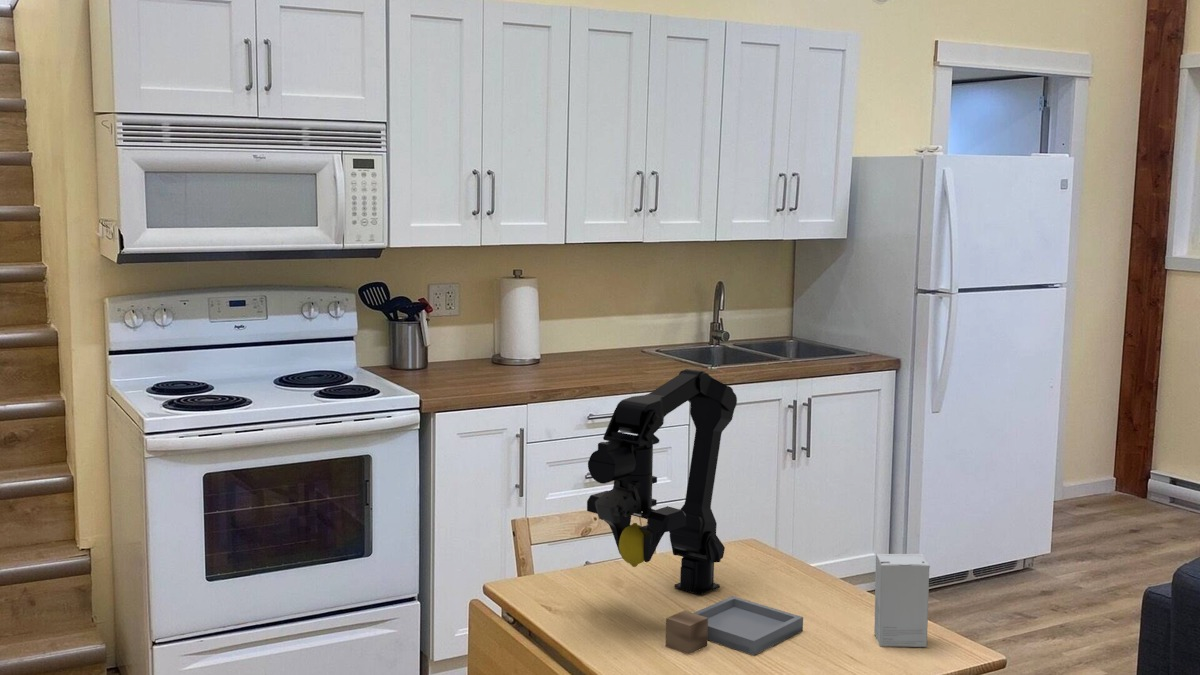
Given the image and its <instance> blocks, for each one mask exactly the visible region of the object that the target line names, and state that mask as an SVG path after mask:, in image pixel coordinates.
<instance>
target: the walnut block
mask: <svg viewBox="0 0 1200 675" xmlns="http://www.w3.org/2000/svg"><path fill="white" fill-rule="evenodd" d="M707 635H708V618H707V617H704V616H700V615H697V614H694V612H692V611H691V612H690V611H689V610H688V611H687V610H682V611H679V612H678V613H675V614H673V615H669V616H667V617H666V618H665V647H666V648H670V649H672V650H675V651H678V652H682V653H684V654H687V655H691V654H693V653H695V652H697V651H700V650H702V649H704V648H706V647H707V646H708V640H707ZM699 649H700V650H699Z"/></svg>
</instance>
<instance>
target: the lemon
mask: <svg viewBox="0 0 1200 675" xmlns="http://www.w3.org/2000/svg"><path fill="white" fill-rule="evenodd" d="M639 527H642V525H640V524H638V523H636V522H633V523H632V524H630V526H628V527H626V528H625V529H624V530H623V531H622V533H621V536H620V540H619V550H618V552H619V551H620V553H619V555H620V556H621V557H620V558H622V559H623V560H624V562H626V563H627V564H629V565H630V566H631V567H632V568H637V566H638V565H640V564H642V563H644V562H645V561H644V535H643V533H642V532H641V530H640V529H639Z"/></svg>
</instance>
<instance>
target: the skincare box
mask: <svg viewBox="0 0 1200 675" xmlns="http://www.w3.org/2000/svg"><path fill="white" fill-rule="evenodd" d="M930 568H931V566H930V563H929V562H928V561H927V559H926V557H925V556H924V555H923V553H875V576H874V577H875V584H874V586H875V588H874V590H875V591H874V627H873V628H874V635H875V637H876V638H875V639H876V640H877V642H878V645H879V647H905V648H906V647H908V648H909V647H910V648H911V647H912V648H913V647H914V648H925V647H928V626H929V625H928V620H929V591H930V590H929V588H930Z"/></svg>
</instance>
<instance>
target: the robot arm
mask: <svg viewBox="0 0 1200 675" xmlns="http://www.w3.org/2000/svg"><path fill="white" fill-rule="evenodd" d="M686 402H689V404H690V406H689V407H690V408H689V414H690V418H691V420H692V421H693V424H694V427H695V434H694V440H693V446H692V453H691V460H690V467H689V474H688V478H687V487H686V491H685V492H686V494H685V501H684V504H683V505H682V507H680V508H676V507H672V506H668V505H667V506H664V507H662V508H661V507H660V508H658V509H653V507H654V506H657V499H656V498H653V484H657V483H658V476H655V475H653V465H654V464H653V463H654V462H653V461H654V460H653V458H654V455H653V454H654V445H657V444H659V443H660V438H658V437H657V436H656V435H655V433H657V431H659V429H660V428H661V427H662V426H663V425H664V424H665V417H666V416H667V415H668V414H670V413H671V412H673V411H675V410H676V409H677V408H679V407H680V406H682V405H683V404H685V403H686ZM737 403H738V397H737V395H736V392H735V391H734V390H733V388H732V387H731V386H728V385H726V384H725V383H724V382H721V381H720V380H717V379H715V378H714V377H712V376H711V375H710V374H708V372H705V371H703V370H698V369H688V368H685V369H682V370H680V372H679V373H678V375H676V376H675V377H672V379H670V380H668V381H667V382H665V383H663V384H661V386H660V385H659V387H657V388H655V389H654V390H653V391H651V392H649V393H647V394H643V395H635V396H630V397H627V398H624V399H622V400H620V401H619V402H618V403H617V405H616V407H615V409H614V410H613V413H612V415H611V418H610V421H609V423H608V425H607V428H606V430H605V433H604V435H603V437H602V438H603V441H600V442H598V443H597V449H596V450H595V451H593V452H592V453H591V455H590V456H589V459H588V460H587V467H588V468H587V469H588V472H589V474H590V476H591V477H592V479H593V480H594V481H595V482H597V483H598V484H602V485H603V484H608V483H610V482H613V488H612V489H609V490H604V491H601V492H598V493H594V494H591V495H590V496H589V497H588V499H587V501H586V511H587V512H589V513H593V514H595V515H597V517H598V519H599V520H601V521H604V522H605V523H606V524H607V525H608V526H609V528H610V530H611V532H612V535H613V538H614V541H615V544H616V547H617V550H618V553H619V554H620V551H619V540H620V536H621V533H622V531H623V530H624V529H625V528H626V527H628V526H630V525H631V521H632V516H633V517H638V518H641V519H644V520H647V521H646V524H645V525H643V526H642V525H641V526H642V527H639V529H640V530H641V532H642V533H643V535H644V562H646V563H649V562H650V561H651V560H652V558H653V556H654V554H655V551H656V549H657V548H658V545H659V543H660V542H661V540H662V537H664V534H665V533H668V532H669V540H670V545H671V550H672V551H671V552H672V554H673V556H679V557H681V560H680V561H681V563H680V564H681V565H680V577H679V581H680V582H678V583H676V584H674V588H675V589H678V590H682V591H683V592H684V591H685V592H688V593H692V594H694V595H697V596H703V595H705V594H707V593H710V592H712V591H715V590H717V589H719V588H720V587H721V584H719V583H716V582H714V580H715V579H714V578H715V576H714V575H715V574H714V572H715V563H721V560H722V559H723V558H724V554H725V548H726V547H725V545H724V544H723V543H722V541H721V539H720V538H719V537H718V535H717V520H716V518H715V516H714V513H713V510H712V508H711V506H712V500H713V493H714V488H715V480H716V474H717V473H716V472H717V467H718V458H719V453H720V445H721V440H722V434H723V431H724V430H725V429H726V428H727V427H728V425H729V424H730V423H731V421H733V418H734V412H735V410H736V406H737Z"/></svg>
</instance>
